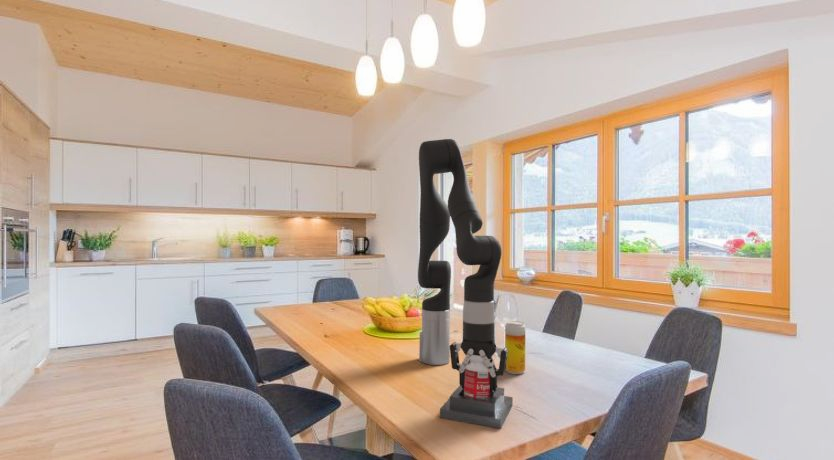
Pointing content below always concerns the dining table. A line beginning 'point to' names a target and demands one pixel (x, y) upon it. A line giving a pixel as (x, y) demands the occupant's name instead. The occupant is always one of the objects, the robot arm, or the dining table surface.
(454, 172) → the robot arm
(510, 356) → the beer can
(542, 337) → the dining table surface
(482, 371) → the pill bottle
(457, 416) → the block
